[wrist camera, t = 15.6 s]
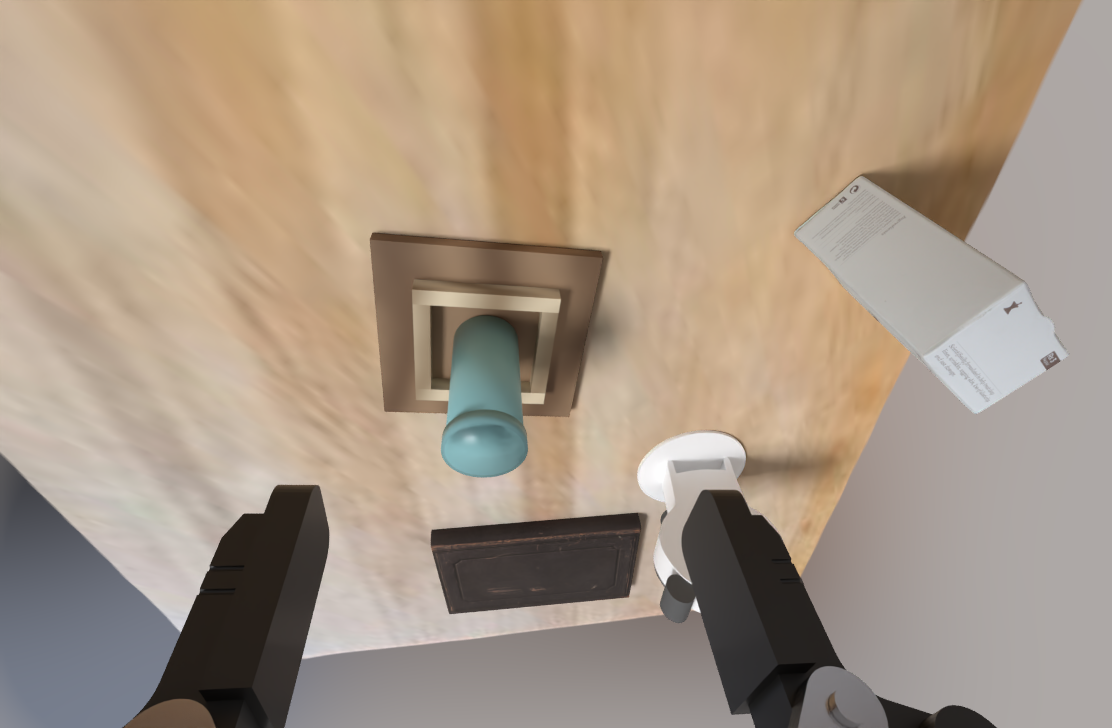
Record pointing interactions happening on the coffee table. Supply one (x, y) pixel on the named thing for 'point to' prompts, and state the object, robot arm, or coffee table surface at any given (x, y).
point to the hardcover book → (536, 562)
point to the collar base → (480, 290)
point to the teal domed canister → (485, 400)
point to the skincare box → (934, 294)
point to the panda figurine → (686, 502)
